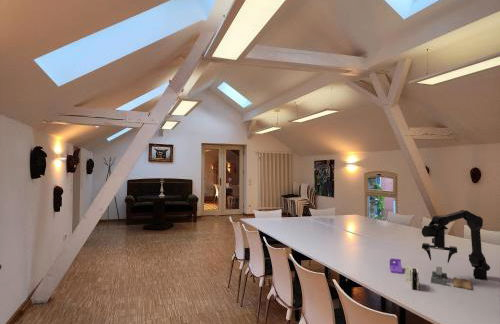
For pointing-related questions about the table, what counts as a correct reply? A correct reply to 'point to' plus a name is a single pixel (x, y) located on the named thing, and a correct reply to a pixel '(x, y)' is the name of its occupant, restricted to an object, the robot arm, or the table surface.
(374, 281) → the table surface
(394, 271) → the bracket
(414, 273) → the hinge
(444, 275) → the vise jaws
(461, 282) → the walnut pad
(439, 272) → the grey flared bar
